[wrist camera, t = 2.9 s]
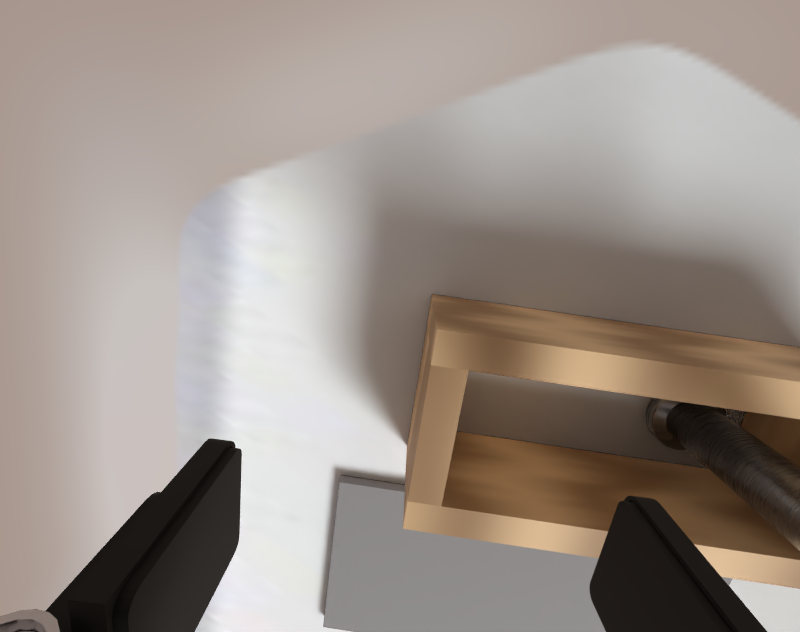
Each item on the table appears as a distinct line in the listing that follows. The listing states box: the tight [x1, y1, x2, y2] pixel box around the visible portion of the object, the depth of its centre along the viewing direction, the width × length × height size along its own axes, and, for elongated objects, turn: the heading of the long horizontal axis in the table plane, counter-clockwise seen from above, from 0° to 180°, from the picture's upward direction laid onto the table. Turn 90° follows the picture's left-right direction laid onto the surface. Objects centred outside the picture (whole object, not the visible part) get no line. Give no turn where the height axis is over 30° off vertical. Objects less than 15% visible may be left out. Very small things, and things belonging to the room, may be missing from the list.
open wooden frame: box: [403, 294, 800, 589], centre depth 15 cm, size 16×8×5 cm, turn 82°
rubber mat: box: [323, 475, 732, 632], centre depth 20 cm, size 20×10×1 cm, turn 82°
